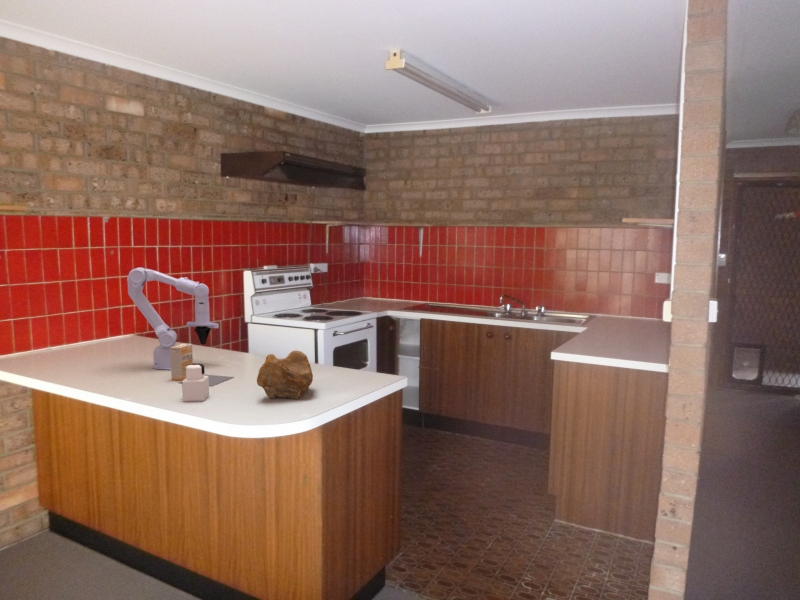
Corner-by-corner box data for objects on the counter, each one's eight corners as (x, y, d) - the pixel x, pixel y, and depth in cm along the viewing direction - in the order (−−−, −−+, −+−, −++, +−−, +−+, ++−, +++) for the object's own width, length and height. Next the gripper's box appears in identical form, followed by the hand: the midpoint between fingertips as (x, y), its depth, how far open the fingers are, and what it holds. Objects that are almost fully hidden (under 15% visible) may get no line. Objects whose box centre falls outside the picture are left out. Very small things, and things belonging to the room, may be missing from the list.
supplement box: (182, 381, 224) (180, 347, 223) (171, 380, 225) (169, 347, 224) (194, 375, 232) (192, 343, 231) (183, 375, 233) (181, 343, 232)
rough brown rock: (288, 409, 191) (291, 365, 189) (249, 398, 199) (252, 355, 197) (328, 394, 212) (331, 354, 210) (291, 385, 219) (294, 346, 217)
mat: (178, 383, 221) (178, 382, 221) (201, 374, 234) (201, 374, 234) (211, 386, 217) (212, 385, 217) (233, 377, 230) (233, 377, 230)
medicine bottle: (188, 395, 204) (187, 362, 203) (209, 395, 205) (208, 361, 203) (182, 401, 197) (181, 366, 196) (204, 401, 198) (203, 366, 196)
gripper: (222, 312, 249) (223, 343, 251) (193, 310, 253) (194, 341, 255) (212, 314, 242) (213, 346, 244) (183, 312, 247) (184, 344, 248)
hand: (203, 344), depth 249 cm, fingers closed
